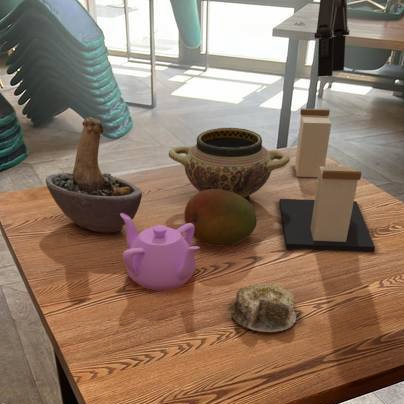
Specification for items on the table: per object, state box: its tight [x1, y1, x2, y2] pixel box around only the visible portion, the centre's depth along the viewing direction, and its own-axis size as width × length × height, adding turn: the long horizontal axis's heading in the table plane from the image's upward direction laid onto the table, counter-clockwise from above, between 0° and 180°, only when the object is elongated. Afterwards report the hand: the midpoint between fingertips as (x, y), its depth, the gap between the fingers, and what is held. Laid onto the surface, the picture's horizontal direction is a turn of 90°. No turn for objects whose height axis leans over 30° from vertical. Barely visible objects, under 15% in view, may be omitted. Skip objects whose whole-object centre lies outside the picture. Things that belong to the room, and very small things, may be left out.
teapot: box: [120, 213, 201, 291], centre depth 94 cm, size 12×14×9 cm
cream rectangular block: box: [294, 108, 332, 178], centre depth 130 cm, size 6×6×13 cm
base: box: [278, 166, 376, 253], centre depth 108 cm, size 16×20×14 cm
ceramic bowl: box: [168, 127, 291, 202], centre depth 117 cm, size 24×18×15 cm
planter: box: [45, 116, 143, 234], centre depth 104 cm, size 15×17×20 cm
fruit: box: [184, 189, 258, 247], centre depth 103 cm, size 12×13×10 cm
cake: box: [231, 283, 297, 333], centre depth 86 cm, size 10×10×5 cm
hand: (331, 73), depth 118 cm, fingers open, 13 cm apart
